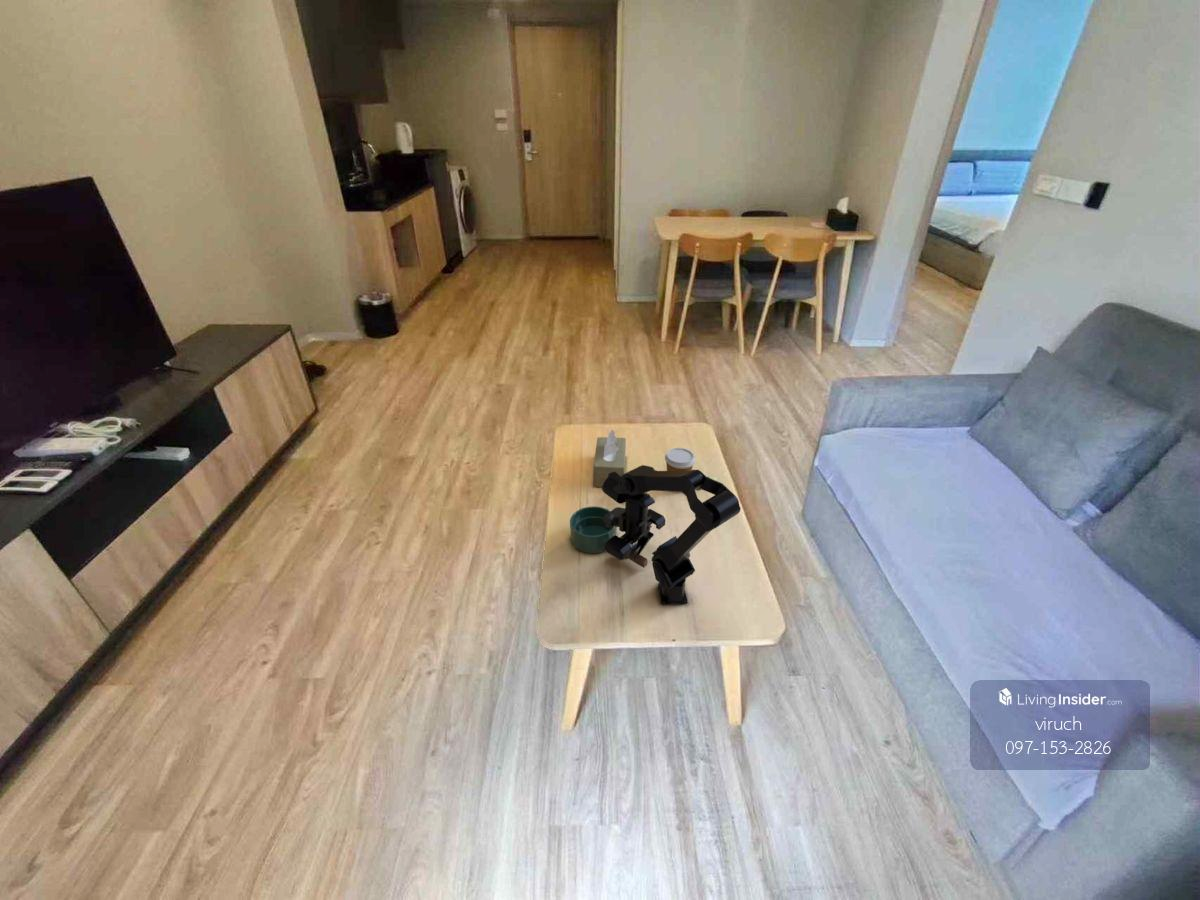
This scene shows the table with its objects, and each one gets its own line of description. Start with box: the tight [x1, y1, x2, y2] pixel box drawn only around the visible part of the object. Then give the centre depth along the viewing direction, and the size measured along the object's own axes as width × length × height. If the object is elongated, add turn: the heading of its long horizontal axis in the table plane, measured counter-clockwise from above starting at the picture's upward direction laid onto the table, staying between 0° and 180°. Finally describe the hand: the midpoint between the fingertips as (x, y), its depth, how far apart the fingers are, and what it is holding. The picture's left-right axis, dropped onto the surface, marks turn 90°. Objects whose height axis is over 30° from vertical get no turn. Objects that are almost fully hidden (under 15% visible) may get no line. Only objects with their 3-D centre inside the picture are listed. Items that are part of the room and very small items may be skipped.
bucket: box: [569, 505, 618, 554], centre depth 151 cm, size 13×13×6 cm
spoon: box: [624, 553, 648, 569], centre depth 143 cm, size 9×4×2 cm, turn 48°
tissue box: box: [592, 429, 627, 488], centre depth 176 cm, size 19×10×16 cm, turn 176°
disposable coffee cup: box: [664, 447, 696, 471], centre depth 170 cm, size 10×10×12 cm
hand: (634, 557), depth 143 cm, fingers closed on spoon, 1 cm apart
